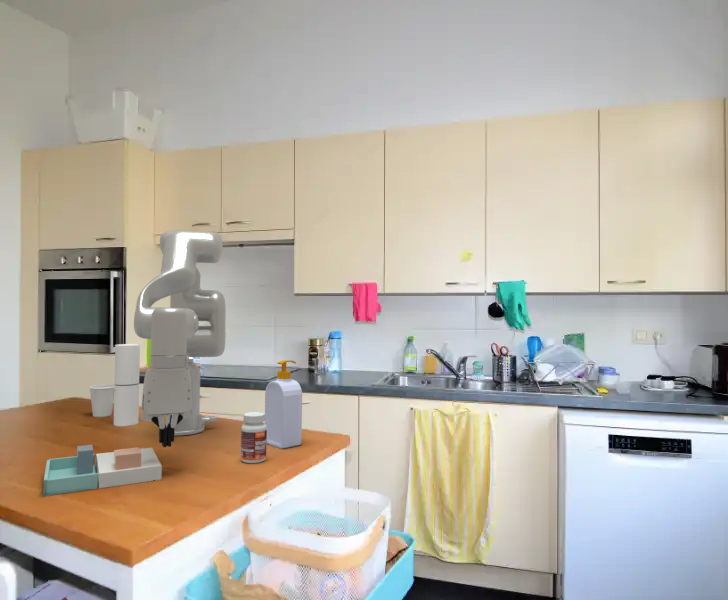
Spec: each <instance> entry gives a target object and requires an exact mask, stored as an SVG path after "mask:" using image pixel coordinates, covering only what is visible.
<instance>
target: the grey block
mask: <svg viewBox="0 0 728 600" xmlns="http://www.w3.org/2000/svg"><path fill="white" fill-rule="evenodd" d="M93 454H94V446H93V444H85V445H77V447H76V456H77V475H79V474H87V473H93Z"/></svg>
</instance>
